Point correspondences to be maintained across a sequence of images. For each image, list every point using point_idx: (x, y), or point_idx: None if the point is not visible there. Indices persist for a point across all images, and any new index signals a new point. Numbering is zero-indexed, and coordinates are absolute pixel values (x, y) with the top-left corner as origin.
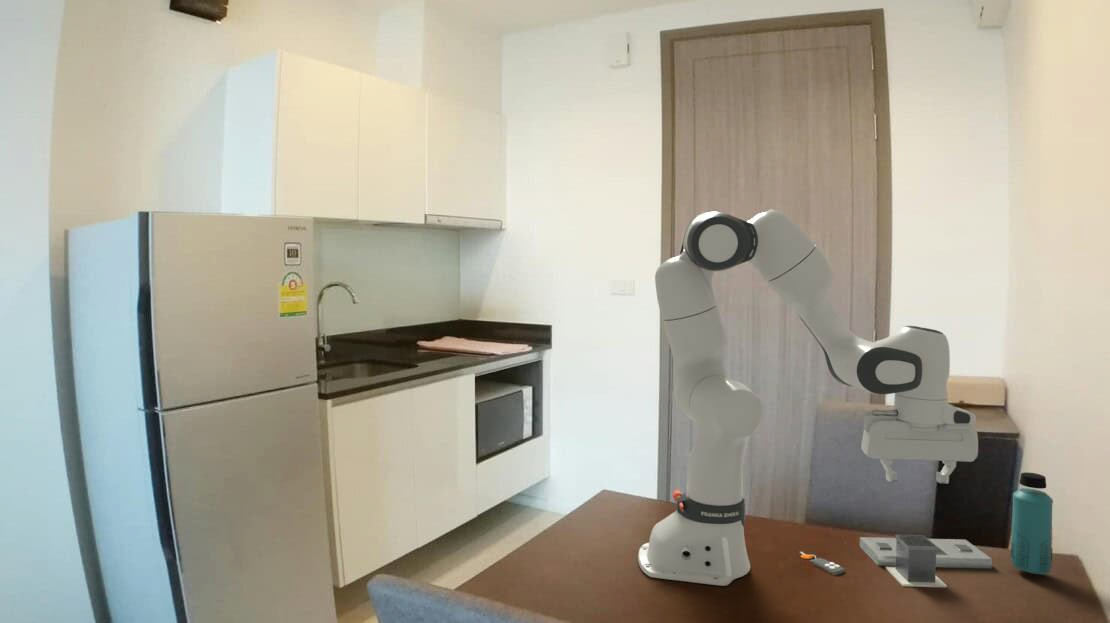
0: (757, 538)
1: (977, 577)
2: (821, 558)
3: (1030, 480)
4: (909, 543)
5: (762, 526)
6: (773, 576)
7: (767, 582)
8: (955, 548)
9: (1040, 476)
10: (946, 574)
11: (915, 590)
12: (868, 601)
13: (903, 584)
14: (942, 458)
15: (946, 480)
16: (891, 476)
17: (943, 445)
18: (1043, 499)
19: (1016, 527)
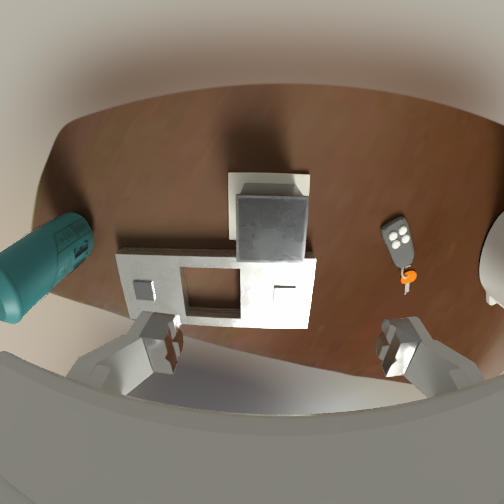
0: (433, 326)
1: (155, 215)
2: (399, 264)
3: None
4: (296, 214)
5: None
6: (473, 215)
7: (484, 198)
8: (156, 290)
9: None
10: (203, 222)
11: (293, 159)
12: (391, 127)
13: (308, 174)
14: (131, 408)
15: (148, 317)
16: (420, 328)
17: (93, 498)
18: None
19: (53, 262)
